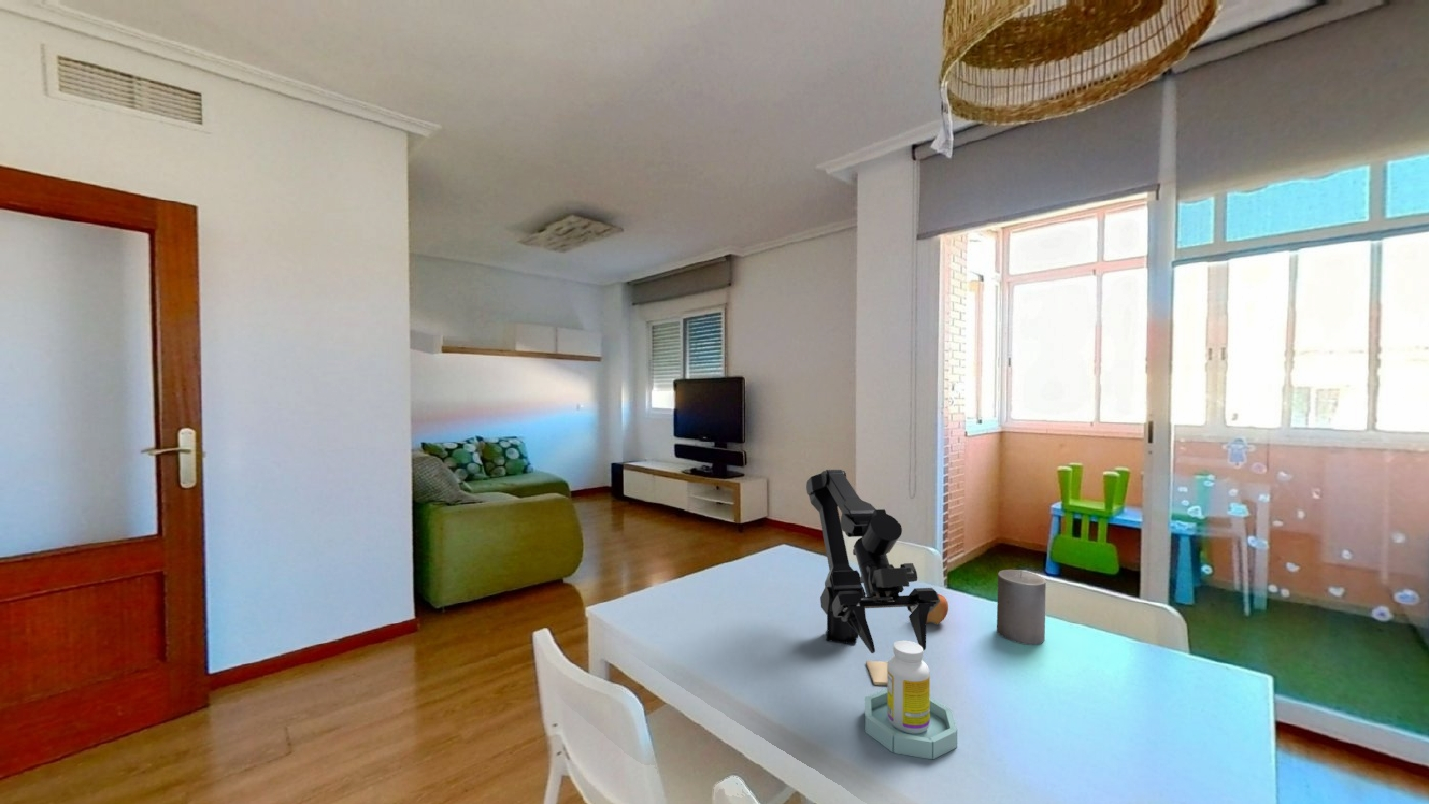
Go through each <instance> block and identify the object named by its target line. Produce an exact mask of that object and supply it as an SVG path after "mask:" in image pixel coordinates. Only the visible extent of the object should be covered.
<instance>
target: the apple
mask: <svg viewBox="0 0 1429 804" xmlns="http://www.w3.org/2000/svg"><path fill="white" fill-rule="evenodd" d="M938 596H939V599H940V602H939V603H938V605H937V606H936V607H935V608H934V609H933V610H932V611H931V612H930V613H929V614H928V616H927V623H926V624H928V623H932V624H935V625H939V624H940V623H942V622H943V621H944V620H945V619H946V616H947V615H948V611H949V604H948V600H947V598H946V597H945V596H943V595H941V594H939V593H938Z"/></svg>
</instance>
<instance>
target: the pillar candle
mask: <svg viewBox="0 0 1429 804" xmlns="http://www.w3.org/2000/svg"><path fill="white" fill-rule="evenodd" d="M1046 583H1047V580H1046V579H1045V577H1043V576H1041V575H1039V574H1036V573H1032V572H1029V571H1026V570H1019V569H1003V570H999V572H998V573H997V603H996V604H997V607H996V610H997V611H996V614H997V615H996V632H997V633H998V635H1000V636H1001V637H1002V638H1004V639H1006V640H1009V641H1011V642H1013V643H1017V644H1018V643H1019V644H1023V645H1032V646H1033V645H1040V644H1042V643H1043V642H1044V641H1045V638H1046V590H1047V589H1046V588H1047V587H1046Z"/></svg>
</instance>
